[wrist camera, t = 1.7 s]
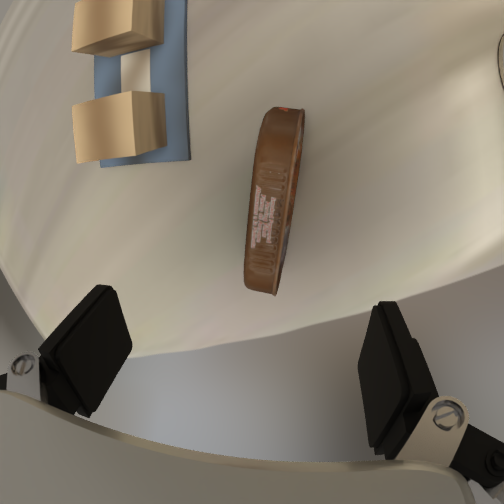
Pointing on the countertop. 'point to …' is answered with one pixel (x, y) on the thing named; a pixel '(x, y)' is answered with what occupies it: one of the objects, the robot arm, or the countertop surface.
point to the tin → (272, 197)
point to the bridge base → (133, 82)
